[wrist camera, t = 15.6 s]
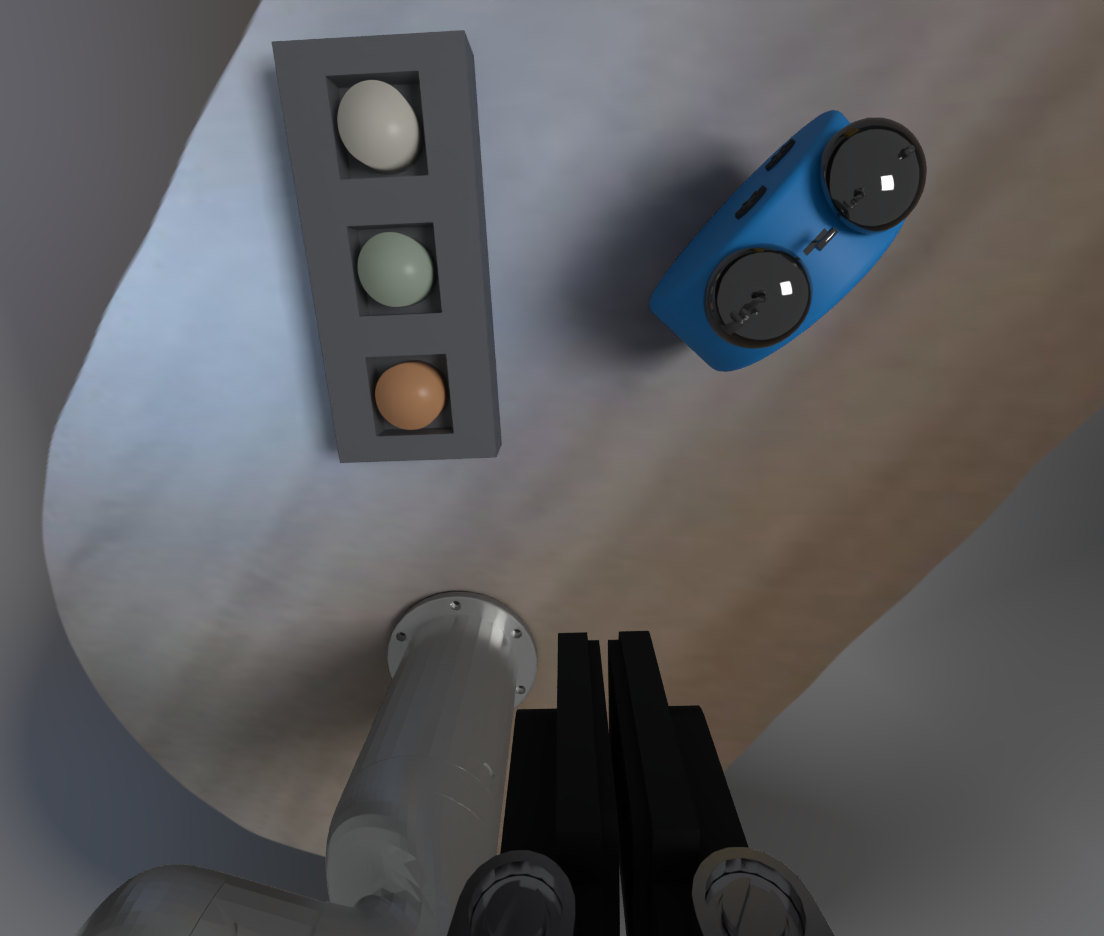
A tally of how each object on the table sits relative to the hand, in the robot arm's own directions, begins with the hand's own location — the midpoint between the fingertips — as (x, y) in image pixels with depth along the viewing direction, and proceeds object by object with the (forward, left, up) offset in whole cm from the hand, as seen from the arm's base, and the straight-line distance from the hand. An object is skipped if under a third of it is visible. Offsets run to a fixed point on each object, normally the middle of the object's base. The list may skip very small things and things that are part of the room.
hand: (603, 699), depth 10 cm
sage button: (+9, +11, -31) cm, 34 cm away
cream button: (+17, +11, -31) cm, 37 cm away
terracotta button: (+1, +11, -31) cm, 33 cm away
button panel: (+9, +11, -32) cm, 35 cm away
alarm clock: (+9, -11, -32) cm, 35 cm away
